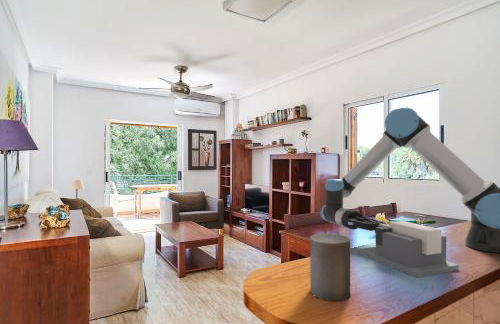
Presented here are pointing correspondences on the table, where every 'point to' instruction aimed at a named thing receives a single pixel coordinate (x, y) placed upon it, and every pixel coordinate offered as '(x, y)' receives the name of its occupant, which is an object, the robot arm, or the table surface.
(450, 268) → the guide
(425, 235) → the peg
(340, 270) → the pillar candle
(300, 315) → the table surface
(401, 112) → the robot arm
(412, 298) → the table surface
